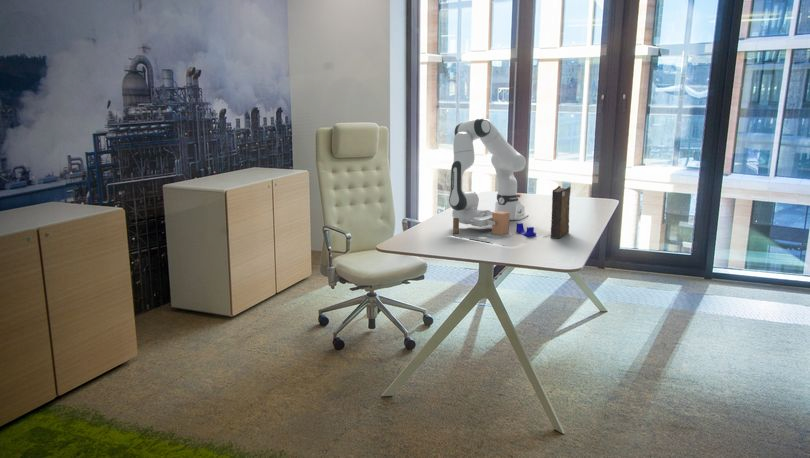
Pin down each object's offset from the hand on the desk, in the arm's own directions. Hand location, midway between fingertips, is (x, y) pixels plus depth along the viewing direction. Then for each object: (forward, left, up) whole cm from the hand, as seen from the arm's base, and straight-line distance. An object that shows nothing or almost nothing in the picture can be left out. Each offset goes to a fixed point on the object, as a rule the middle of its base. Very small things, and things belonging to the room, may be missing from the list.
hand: (500, 221), depth 334 cm
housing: (0, 0, -6) cm, 6 cm away
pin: (+16, -17, -7) cm, 24 cm away
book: (-19, +23, -7) cm, 31 cm away
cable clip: (-7, +11, -8) cm, 15 cm away
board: (+8, 0, -7) cm, 11 cm away
